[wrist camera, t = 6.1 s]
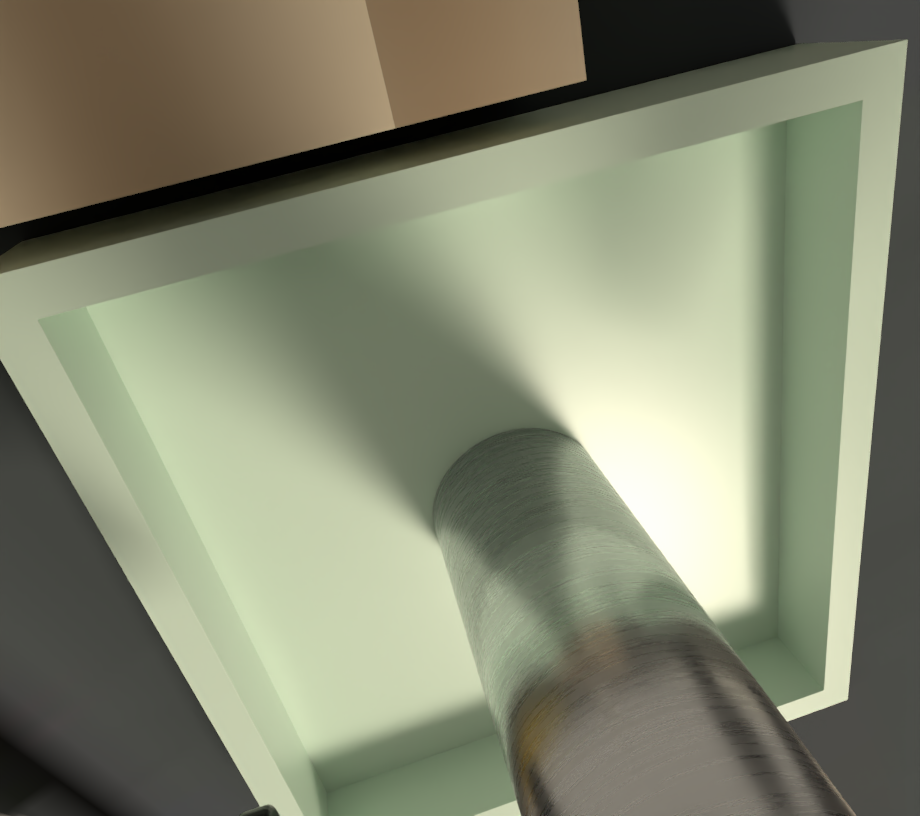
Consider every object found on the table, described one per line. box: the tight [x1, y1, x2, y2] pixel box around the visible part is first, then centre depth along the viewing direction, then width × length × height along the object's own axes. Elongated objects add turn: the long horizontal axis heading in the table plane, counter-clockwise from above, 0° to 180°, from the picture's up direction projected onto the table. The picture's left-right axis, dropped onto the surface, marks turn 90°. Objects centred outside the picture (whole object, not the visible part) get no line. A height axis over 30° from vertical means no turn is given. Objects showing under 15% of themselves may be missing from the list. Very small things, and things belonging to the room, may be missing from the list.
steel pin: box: [433, 428, 856, 816], centre depth 9 cm, size 4×4×9 cm
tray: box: [0, 39, 908, 816], centre depth 12 cm, size 12×13×2 cm
